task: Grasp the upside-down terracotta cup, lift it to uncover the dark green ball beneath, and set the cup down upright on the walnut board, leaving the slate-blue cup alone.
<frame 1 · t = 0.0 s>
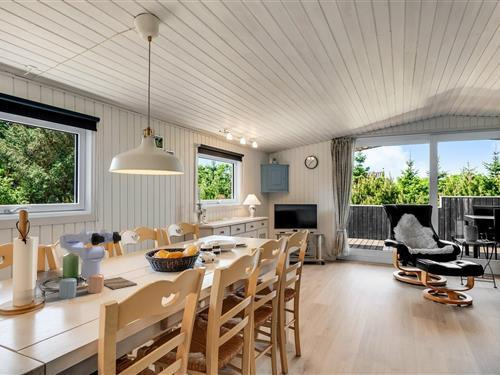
hand: (112, 238, 141), 22 cm above the table, tool horizontal, fingers open, 7 cm apart
terracotta cup: (95, 291, 134), on the table
green ball: (95, 287, 134), point 1 cm above the table
slate blue cup: (67, 296, 126), on the table
walnut board: (117, 283, 146), on the table
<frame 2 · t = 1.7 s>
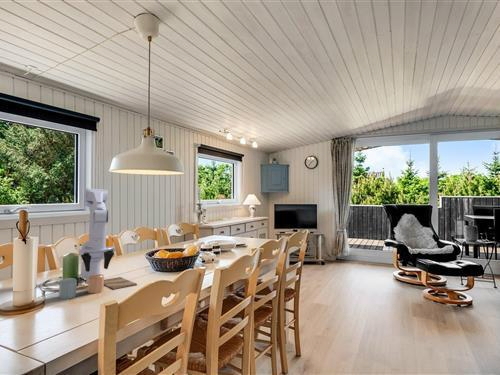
hand: (96, 269, 134), 9 cm above the table, tool pointing down, fingers open, 7 cm apart
nothing on the table moved.
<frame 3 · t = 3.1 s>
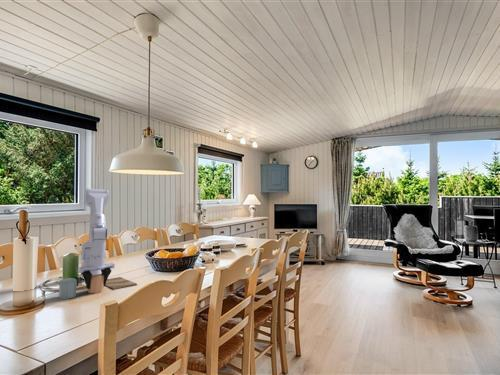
hand: (95, 287, 134), 2 cm above the table, tool pointing down, fingers closed on terracotta cup, 6 cm apart
terracotta cup: (95, 291, 134), on the table, touching gripper
everything else where it was.
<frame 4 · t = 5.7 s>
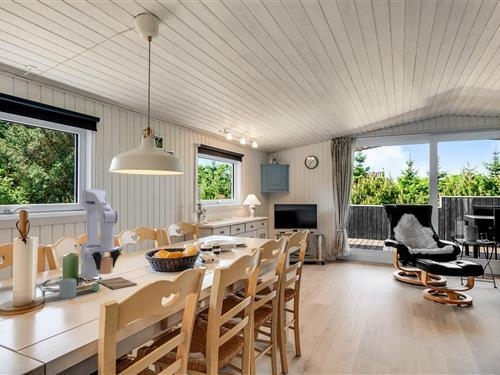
hand: (105, 268, 139), 9 cm above the table, tool pointing down, fingers closed on terracotta cup, 6 cm apart
terracotta cup: (105, 272, 139), point 7 cm above the table, touching gripper
everything else where it was.
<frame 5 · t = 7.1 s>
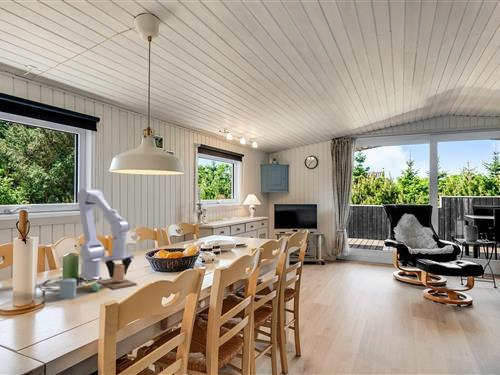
hand: (117, 275, 146), 4 cm above the table, tool pointing down, fingers closed on terracotta cup, 6 cm apart
terracotta cup: (117, 279, 146), point 2 cm above the table, touching gripper
everything else where it was.
when the fingers open (3 cm above the table, at t = 8.1 s): terracotta cup drops 1 cm, resting on walnut board.
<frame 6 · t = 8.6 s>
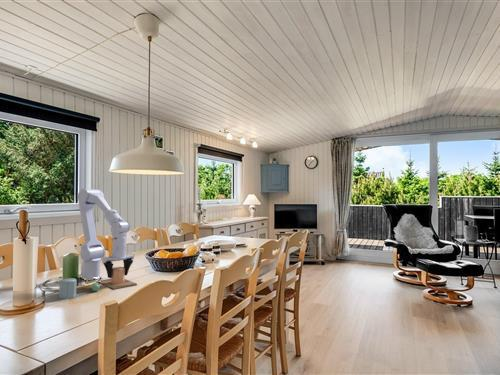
hand: (117, 276, 146), 3 cm above the table, tool pointing down, fingers open, 7 cm apart
terracotta cup: (117, 282, 146), point 1 cm above the table, touching walnut board
everything else where it was.
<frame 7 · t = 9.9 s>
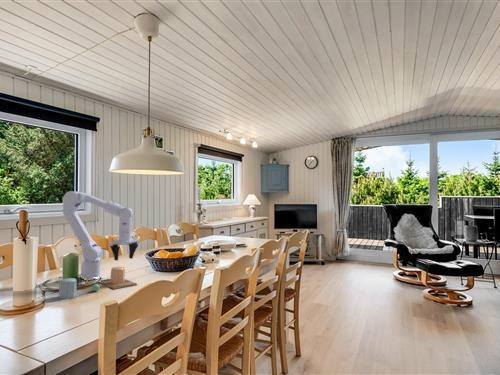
hand: (123, 259, 156), 9 cm above the table, tool pointing down, fingers open, 7 cm apart
nothing on the table moved.
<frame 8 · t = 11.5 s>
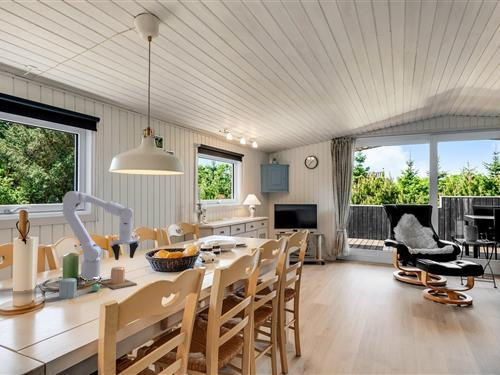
hand: (124, 258, 157), 9 cm above the table, tool pointing down, fingers open, 7 cm apart
nothing on the table moved.
at the end: terracotta cup inside the target area on the walnut board (0.1 cm from its centre), point 0.6 cm above the walnut board's base; terracotta cup tilted 0°; the gripper is holding nothing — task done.
